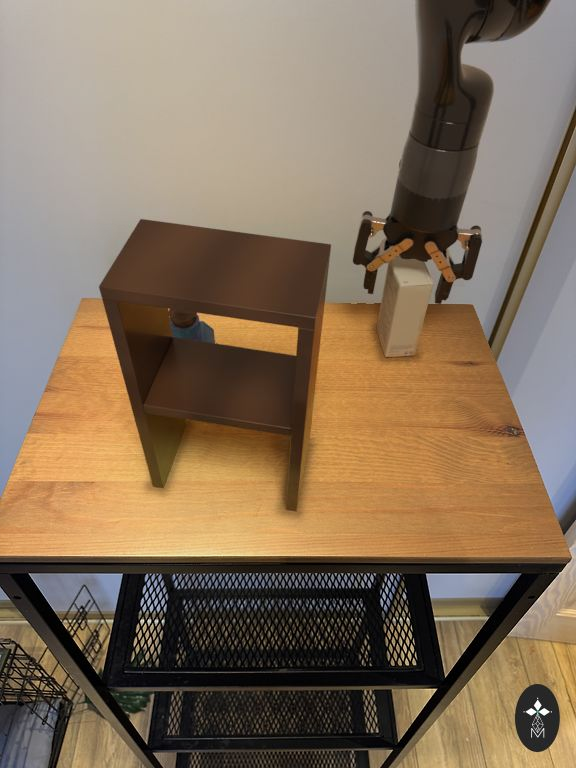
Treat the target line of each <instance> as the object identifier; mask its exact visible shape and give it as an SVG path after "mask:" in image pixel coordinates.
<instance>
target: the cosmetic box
mask: <svg viewBox="0 0 576 768" xmlns="http://www.w3.org/2000/svg"><path fill="white" fill-rule="evenodd" d="M433 288H434V281H433V278H432V276H431V273H430V271H429V269H428V267H427V264H426V262H423V261H419V260H416V259H401V256H399V255H398V256H396V257H395V258H394V259H393V260H391V261H390V262H389V263H387V268H386V273H385V279H384V285H383V290H382V296H381V300H380V301H381V302H380V307H379V313H378V318H377V323H376V324H377V325H376V331H377V334H378V338H379V342H380V345H381V349H382V353H383V355H384V357H385V358H394V357H411V356H415V355H416V354H417V349H418V345H419V341H420V337H421V334H422V329H423V325H424V323H425V318H426V314H427V310H428V306H429V303H430V299H431V295H432V292H433Z"/></svg>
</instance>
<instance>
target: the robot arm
mask: <svg viewBox="0 0 576 768" xmlns="http://www.w3.org/2000/svg"><path fill="white" fill-rule="evenodd" d="M551 2H552V0H414V17H415V31H416V32H415V33H416V48H417V92H416V97H415V101H414V107H413V111H412V118H411V121H410V126H409V131H408V134H407V137H406V140H405V143H404V146H403V149H402V153H401V158H400V159H399V163H398V173H397V177H396V182H395V188H394V193H393V196H392V197H393V198H392V203H391V207H390V212H389V214H388V216H386V218H381V217H376V216H373V212H371V211H369V210H366V211H363V212H362V215H361V219H360V223H359V228H358V232H357V235H356V241H355V245H354V251H353V257H352V264H354V265H356V266H363V267H364V268H365V273H364V277H363V285H362V286H363V289H364V290H367V294H368V295H374V292H375V285H376V281H377V274H378V270H379V268H380V267H381V266H383V265H384V264H388V263H389V262H390V261H391V260H393V259H394V258H395V257H396V256H401V259H416V260H419V261H423V262H425V263H427V262H428V261H430V260H432V261H433V263H434V266H436V268H437V270H438V271H440V272H441V273H440V276H439V279H438V282H437V284H436V285H437V286H436V289H435V291H434V304H437V305H441V304H442V303H443V301H447V300H448V299H449V298H450V297H449V296H450V293H451V291H452V288H453V284H454V282H455V281H456V280H460V279H462V280H463V281H470V280H471V279H473V276H474V273H475V269H476V265H477V263H478V262H477V261H478V258H479V254H480V251H481V248H482V244H483V235H482V228H481V226H480V225H477V224H476V225H473V226H471V227H470V228H469V229H468V228H459V227H458V223H459V220H460V218H461V217H460V216H461V213H462V209H463V206H464V202H465V200H466V197H467V194H468V191H469V186H470V184H471V180H472V177H473V175H474V171H475V167H476V163H477V157H478V152H479V147H480V143H481V139H482V136H483V132H484V128H485V125H486V123H487V119H488V116H489V112H490V108H491V105H492V101H493V98H494V94H495V93H494V91H495V87H494V85H495V84H494V81H493V79H492V77H491V76H490V74H489V73H487V71H485V70H483V69H482V68H479V67H476V66H475V65H471V64H467V63H462V52H463V49H464V46H465V45H471V44H484V43H497V42H498V43H499V42H505V41H509V40H512V39H514V38H516V37H518V36H519V35H521V34H523V33H525V32H526V31H528V30H529V29H531V27H532V26H534V25H535V24H536V23H537V22H538V20H540V19H541V17H542V15H543V14H544V13H545V11H546V10H547V8H548V6H550V3H551ZM379 231H382V232H383V235H384V236H385V237H384V238H383V239H382V240H381V241H380V243H379V245H378V246H376V247H375V248H374V249H372V250H371V251H369V250H367V246H368V242H369V238H373V237H375V236H377V233H378V232H379ZM457 241H458V242H460V244H461V248H462V249H463V250H464V252H463V256H462V260H461V262H459V263H455V262H454V260H453V258H452V256H451V253H450V251H449V248H450V247H451V246H452V245H454V244H455V243H456V242H457Z"/></svg>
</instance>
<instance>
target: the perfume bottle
mask: <svg viewBox="0 0 576 768" xmlns="http://www.w3.org/2000/svg"><path fill="white" fill-rule="evenodd" d="M168 311H169V317H170V323H171V330H172V336H173V337H176V338H183V339H189V340H196V341H203V342H209V343H216V340H215V339H216V338H215V329H214V328H213V327H212V326H211V325H209V324H208V323H206V321H204V320H200V317H199V315H198V313H196V312H189V311H182V310H175V309H169V308H168Z"/></svg>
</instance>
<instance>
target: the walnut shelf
mask: <svg viewBox="0 0 576 768" xmlns="http://www.w3.org/2000/svg"><path fill="white" fill-rule="evenodd" d="M331 250H332V244H330V243H324V242H316V241H309V240H303V239H302V240H301V239H293V238H286V237H279V236H271V235H263V234H257V233H250V232H241V231H233V230H226V229H220V228H212V227H206V226H205V227H204V226H199V225H198V226H197V225H190V224H189V225H188V224H184V223H183V224H182V223H174V222H166V221H161V220H152V219H144V218H140V219H139V221H138V222H137V224H136V226H135V227H134V228H133V230H132V232H131V234H130V235H129V237H128V238H127V240H126V241H125V243H124V245H123V246H122V248H121V250H120V252H119V253H118V255H117V256H116V258H115V259H114V261H113V263H112V265H111V266H110V268H109V269H108V271H107V272H106V274H105V276H104V277H103V279H102V280H101V282H100V284H99V285H98V289H99V292H100V297H101V299H102V300H101V301H102V305H103V307H104V311H105V315H106V318H107V322H108V326H109V330H110V333H111V337H112V341H113V345H114V349H115V352H116V355H117V360H118V363H119V368H120V371H121V374H122V377H123V381H124V386H125V389H126V392H127V396H128V401H129V405H130V407H131V411H132V415H133V419H134V423H135V426H136V430H137V433H138V436H139V440H140V445H141V446H142V447H141V448H142V451H143V455H144V459H145V462H146V466H147V470H148V473H149V477H150V480H151V485H152V487H153V488H159V489H164V488H165V485H166V483H167V480H168V477H169V474H170V471H171V468H172V465H173V463H174V460H175V457H176V454H177V452H178V450H179V447H180V445H181V441H182V439H183V436H184V432H185V431H186V427H187V425H188V424H187V420H188V421H193V422H199V423H206V424H212V425H216V426H217V425H219V426H222V427H223V426H224V427H229V428H236V429H243V430H247V431H255V432H260V433H266V434H273V435H277V436H278V435H279V436H285V437H290V440H289V441H290V443H289V454H288V455H289V458H288V471H287V484H286V485H287V486H286V498H285V499H286V500H285V510H286V511H291V512H294V513H295V512H297V511H298V507H299V501H300V496H301V490H302V485H303V479H304V474H305V468H306V463H307V457H308V451H309V446H310V439H311V431H312V430H311V429H312V422H313V421H312V420H313V412H314V403H315V395H316V386H317V385H316V384H317V376H318V366H319V356H320V350H321V341H322V332H323V331H322V330H323V323H324V322H323V320H324V315H325V314H324V313H325V305H326V295H327V286H328V277H329V270H330V269H329V268H330V259H331ZM169 309H175V310H182V311H189V312H196V313H197V314H202V315H203V314H204V315H211V316H215V317H216V316H217V317H224V318H231V319H237V320H245V321H249V322H250V321H251V322H257V323H258V322H259V323H264V324H272V325H279V326H286V327H290V328H291V327H292V328H297V339H296V340H297V341H296V353H295V354H296V355H293V354H287V353H282V352H281V353H280V352H274V351H269V350H261V349H255V348H248V347H242V346H235V345H229V344H221V343H216V342H215V343H209V342H203V341H196V340H189V339H183V338H176V337H173V336H172V330H171V323H170V316H169Z"/></svg>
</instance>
